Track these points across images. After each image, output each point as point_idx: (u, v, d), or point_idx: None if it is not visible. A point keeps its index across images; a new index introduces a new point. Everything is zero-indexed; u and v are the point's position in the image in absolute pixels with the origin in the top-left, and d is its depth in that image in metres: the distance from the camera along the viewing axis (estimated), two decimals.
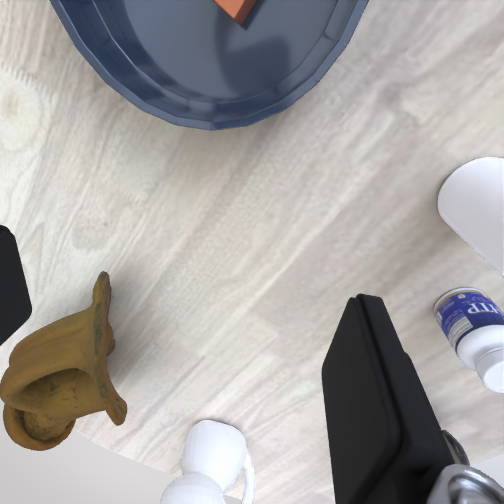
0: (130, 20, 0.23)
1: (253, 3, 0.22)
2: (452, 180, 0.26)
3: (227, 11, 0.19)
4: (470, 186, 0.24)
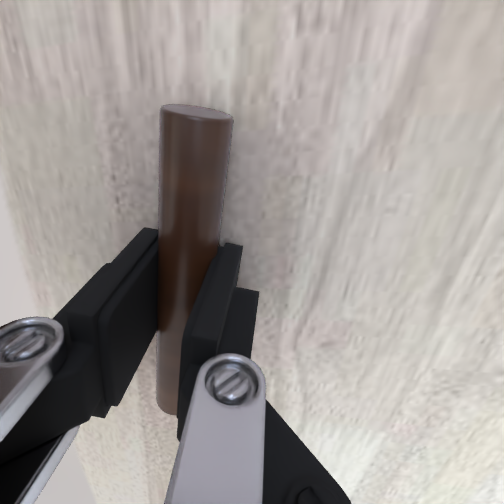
0: None
1: None
2: None
3: None
4: None
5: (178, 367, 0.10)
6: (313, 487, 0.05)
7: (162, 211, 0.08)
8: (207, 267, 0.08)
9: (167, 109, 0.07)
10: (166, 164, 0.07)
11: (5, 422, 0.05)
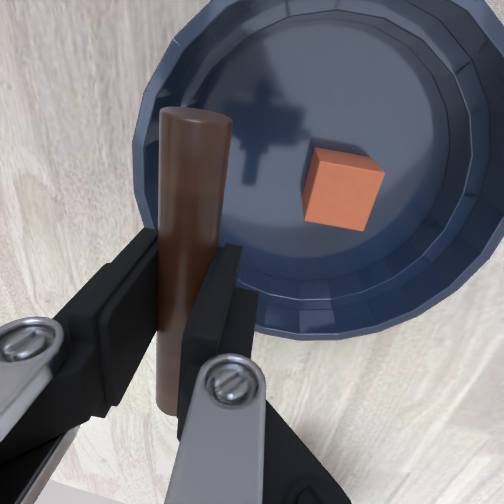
0: (244, 249, 0.24)
1: None
2: None
3: (354, 229, 0.18)
4: None
5: (177, 368, 0.10)
6: (313, 487, 0.05)
7: (162, 213, 0.08)
8: (207, 269, 0.08)
9: (167, 111, 0.07)
10: (166, 166, 0.07)
11: (5, 423, 0.05)
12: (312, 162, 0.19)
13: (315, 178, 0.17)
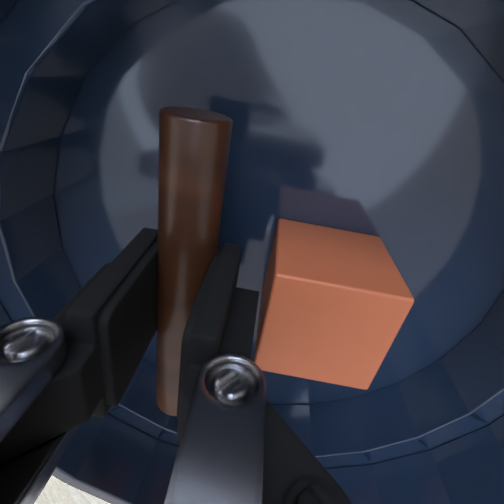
0: None
1: None
2: None
3: (350, 385, 0.09)
4: None
5: (177, 368, 0.10)
6: (313, 487, 0.05)
7: (162, 213, 0.08)
8: (206, 268, 0.08)
9: (166, 111, 0.07)
10: (165, 166, 0.07)
11: (5, 422, 0.05)
12: (273, 249, 0.10)
13: (269, 303, 0.08)
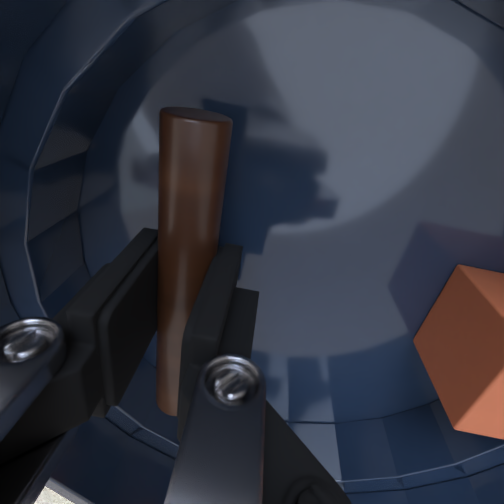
0: None
1: None
2: None
3: None
4: None
5: (177, 368, 0.10)
6: (313, 487, 0.05)
7: (162, 213, 0.08)
8: (207, 268, 0.08)
9: (167, 112, 0.07)
10: (166, 166, 0.07)
11: (4, 422, 0.05)
12: (458, 298, 0.10)
13: (502, 369, 0.08)
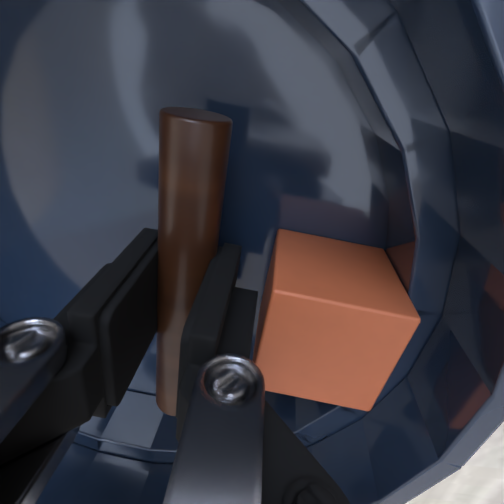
0: None
1: None
2: None
3: (351, 407, 0.09)
4: None
5: (177, 368, 0.10)
6: (312, 487, 0.05)
7: (161, 213, 0.08)
8: (206, 269, 0.08)
9: (166, 112, 0.07)
10: (165, 167, 0.07)
11: (5, 423, 0.05)
12: (271, 260, 0.10)
13: (266, 320, 0.08)
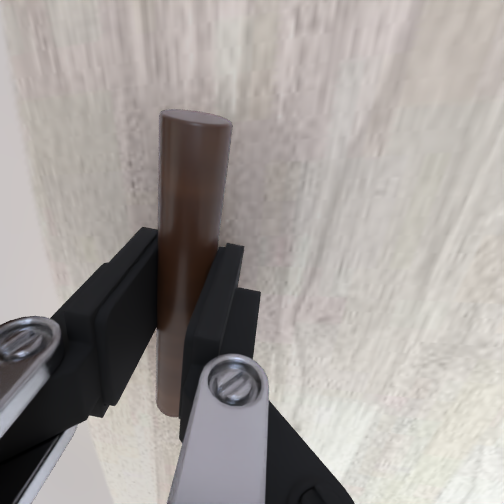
0: None
1: None
2: None
3: None
4: None
5: (177, 369, 0.10)
6: (316, 488, 0.05)
7: (162, 215, 0.08)
8: (206, 270, 0.08)
9: (166, 114, 0.07)
10: (165, 169, 0.07)
11: (3, 422, 0.05)
12: None
13: None
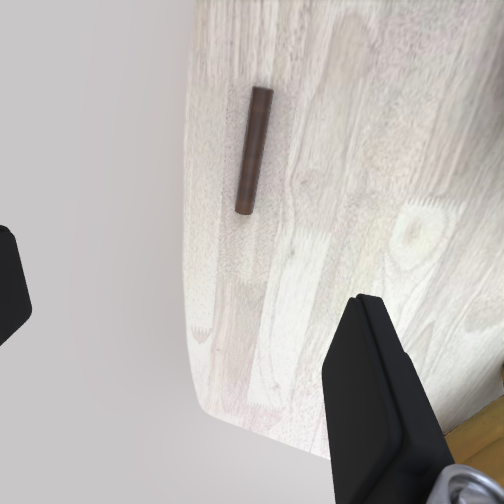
0: None
1: None
2: None
3: None
4: None
5: (250, 187, 0.27)
6: None
7: (251, 120, 0.24)
8: (263, 141, 0.25)
9: (257, 87, 0.23)
10: (255, 104, 0.23)
11: None
12: None
13: None
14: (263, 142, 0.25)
